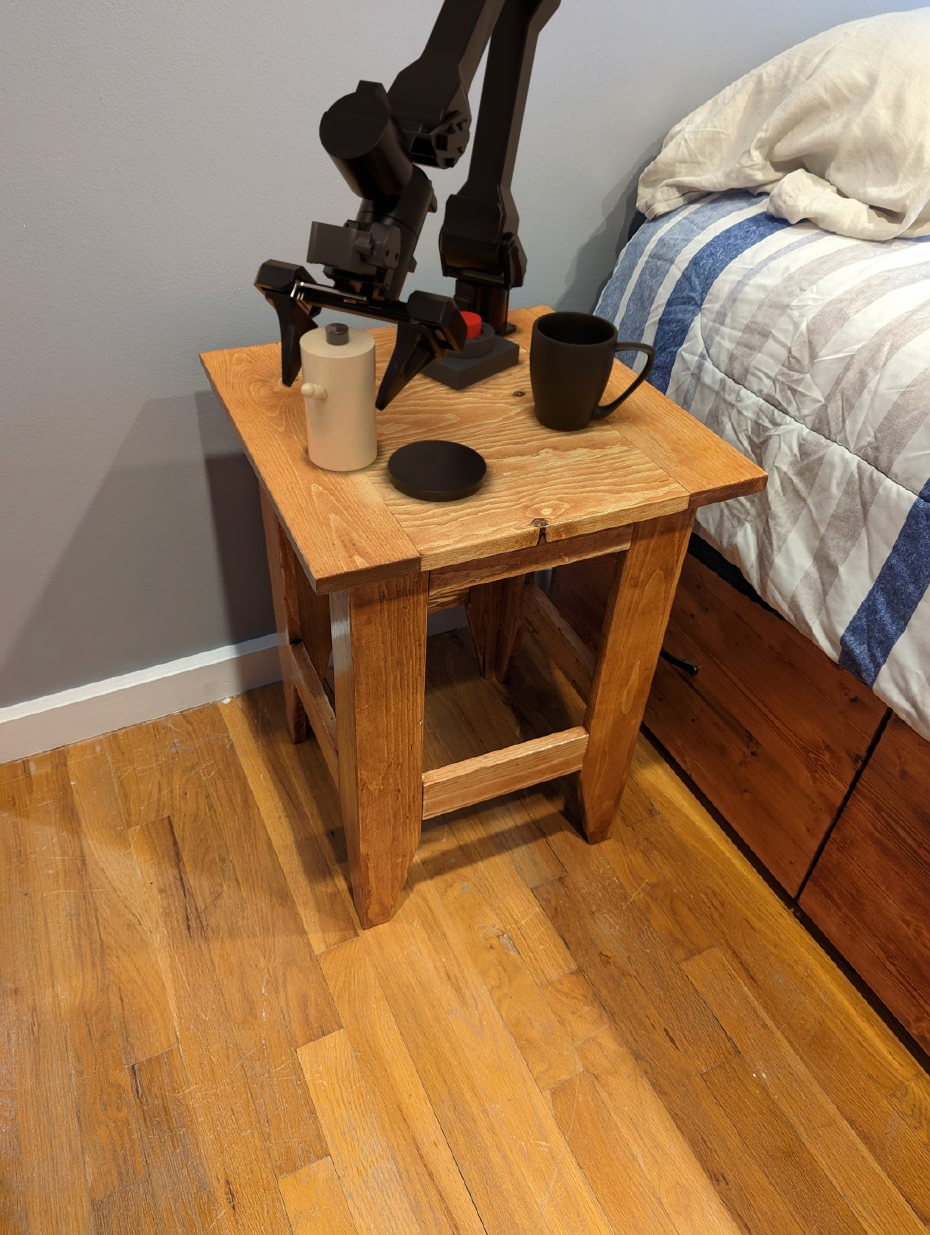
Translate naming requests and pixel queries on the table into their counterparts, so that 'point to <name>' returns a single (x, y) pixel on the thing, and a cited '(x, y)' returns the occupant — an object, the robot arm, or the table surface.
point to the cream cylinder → (340, 396)
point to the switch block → (475, 360)
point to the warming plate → (437, 470)
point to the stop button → (472, 324)
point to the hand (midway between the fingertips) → (331, 397)
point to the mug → (576, 368)
